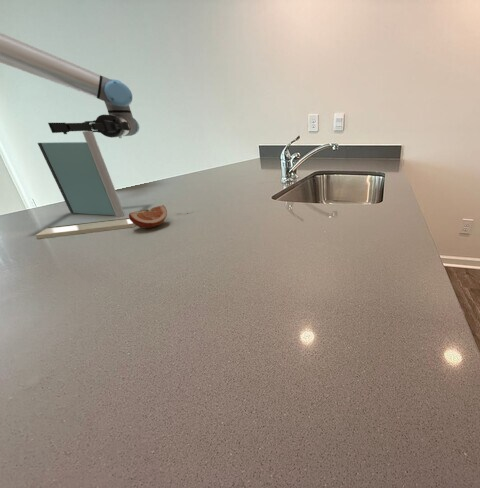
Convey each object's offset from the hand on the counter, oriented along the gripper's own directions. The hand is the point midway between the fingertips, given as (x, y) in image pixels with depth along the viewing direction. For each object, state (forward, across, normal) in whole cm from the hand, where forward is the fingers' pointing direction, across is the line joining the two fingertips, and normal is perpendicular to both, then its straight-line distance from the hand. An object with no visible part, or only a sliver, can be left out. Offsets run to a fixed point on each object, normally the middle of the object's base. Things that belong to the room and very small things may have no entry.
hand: (78, 127), depth 76 cm
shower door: (+11, -5, -22) cm, 25 cm away
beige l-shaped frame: (+19, -6, -24) cm, 31 cm away
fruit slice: (+28, -22, -24) cm, 43 cm away
